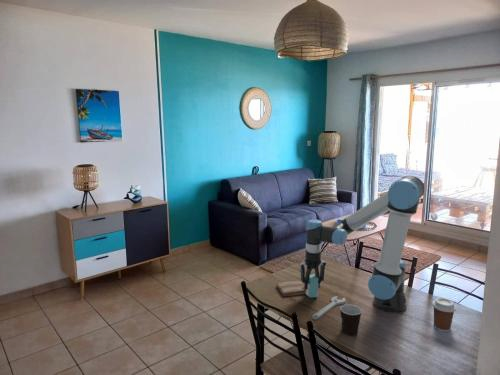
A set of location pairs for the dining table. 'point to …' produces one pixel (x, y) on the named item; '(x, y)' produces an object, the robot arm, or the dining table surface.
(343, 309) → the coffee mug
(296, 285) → the walnut board
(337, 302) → the adjustable wrench
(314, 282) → the light blue block
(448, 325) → the coffee cup
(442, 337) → the dining table surface
